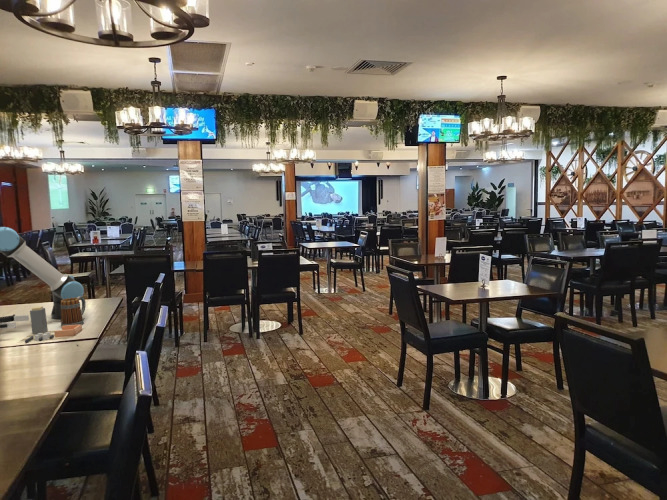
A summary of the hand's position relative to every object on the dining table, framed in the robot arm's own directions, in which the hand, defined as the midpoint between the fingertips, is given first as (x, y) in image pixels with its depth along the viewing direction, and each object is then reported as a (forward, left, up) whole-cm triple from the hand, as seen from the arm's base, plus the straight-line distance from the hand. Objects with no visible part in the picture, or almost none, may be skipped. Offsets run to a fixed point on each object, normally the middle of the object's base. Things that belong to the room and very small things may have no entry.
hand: (22, 321), depth 240 cm
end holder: (+6, +23, -7) cm, 25 cm away
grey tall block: (0, +8, -7) cm, 10 cm away
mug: (-14, +20, -8) cm, 25 cm away
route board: (+6, +16, -8) cm, 18 cm away
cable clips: (+12, +14, -7) cm, 20 cm away
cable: (+13, +13, -7) cm, 20 cm away
